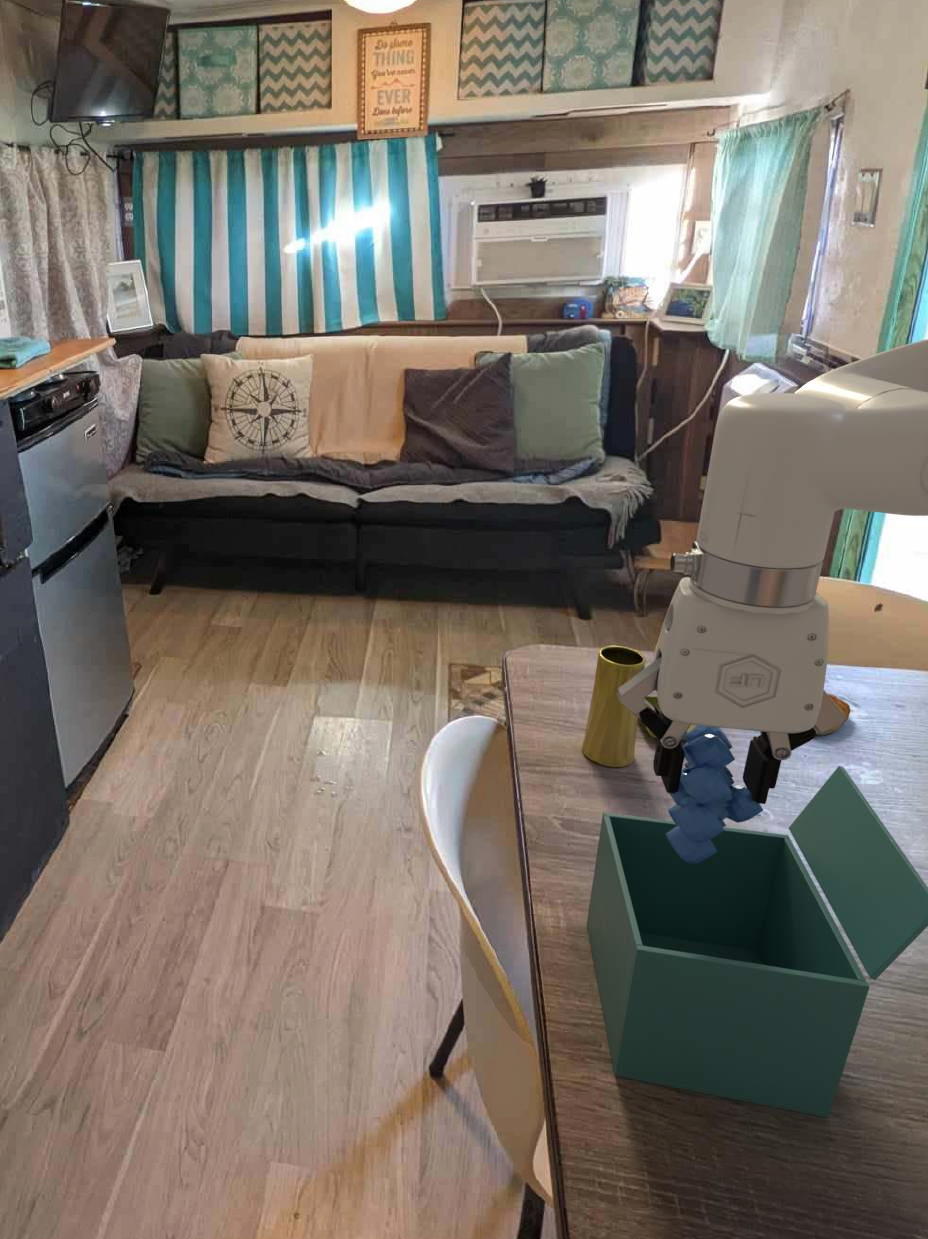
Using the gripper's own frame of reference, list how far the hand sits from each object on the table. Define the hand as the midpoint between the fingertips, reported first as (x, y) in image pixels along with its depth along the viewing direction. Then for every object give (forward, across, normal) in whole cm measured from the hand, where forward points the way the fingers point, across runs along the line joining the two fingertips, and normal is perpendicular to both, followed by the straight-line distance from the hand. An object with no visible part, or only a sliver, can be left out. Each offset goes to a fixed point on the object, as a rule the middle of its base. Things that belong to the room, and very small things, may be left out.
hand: (710, 785), depth 65 cm
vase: (+23, +1, +38) cm, 45 cm away
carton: (+23, +2, 0) cm, 23 cm away
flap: (+6, +11, 0) cm, 12 cm away
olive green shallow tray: (+23, +10, +46) cm, 53 cm away
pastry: (+23, +28, +51) cm, 63 cm away
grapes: (+7, 0, 0) cm, 7 cm away
